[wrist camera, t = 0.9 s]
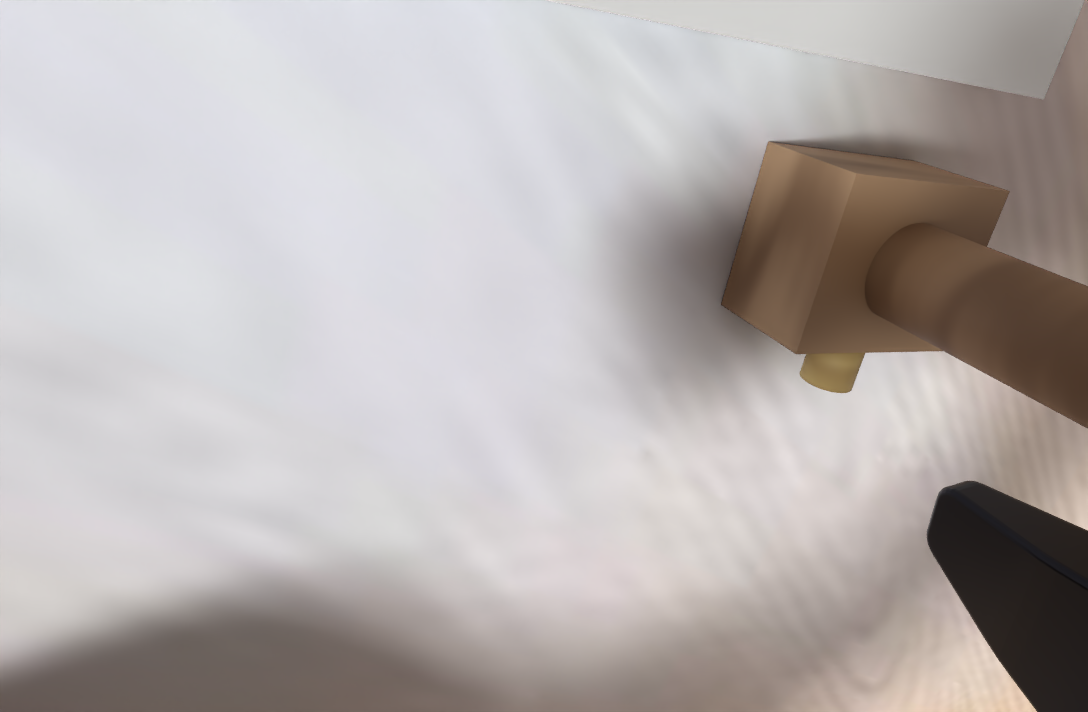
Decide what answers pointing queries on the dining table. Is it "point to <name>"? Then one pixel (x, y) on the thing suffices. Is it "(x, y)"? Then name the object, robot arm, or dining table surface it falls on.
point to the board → (890, 33)
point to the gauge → (901, 275)
